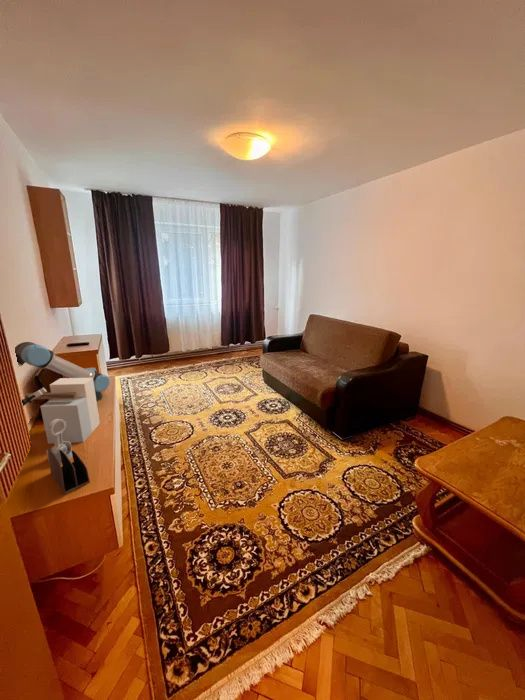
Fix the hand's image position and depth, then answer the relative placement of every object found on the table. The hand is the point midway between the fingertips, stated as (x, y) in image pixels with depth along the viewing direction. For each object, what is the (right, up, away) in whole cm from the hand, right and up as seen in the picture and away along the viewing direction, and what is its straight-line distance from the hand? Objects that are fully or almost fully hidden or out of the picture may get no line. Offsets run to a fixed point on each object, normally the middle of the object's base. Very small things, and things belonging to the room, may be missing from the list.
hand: (42, 391), depth 150 cm
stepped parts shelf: (+9, -26, +13) cm, 31 cm away
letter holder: (+30, -36, -22) cm, 52 cm away
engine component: (+16, -32, -8) cm, 37 cm away
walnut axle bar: (+4, -4, +1) cm, 6 cm away
